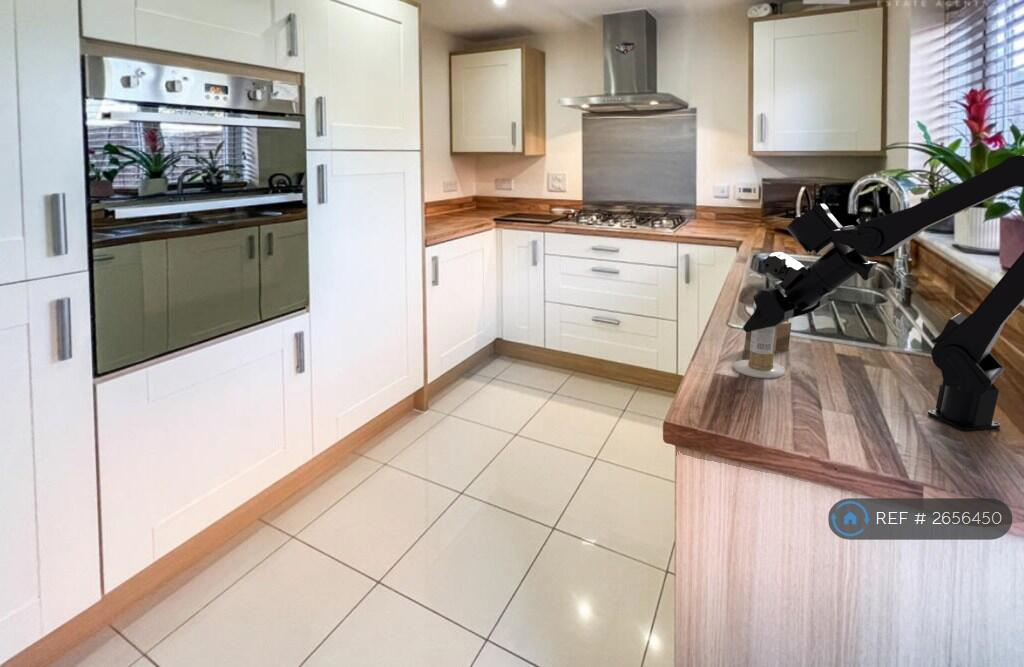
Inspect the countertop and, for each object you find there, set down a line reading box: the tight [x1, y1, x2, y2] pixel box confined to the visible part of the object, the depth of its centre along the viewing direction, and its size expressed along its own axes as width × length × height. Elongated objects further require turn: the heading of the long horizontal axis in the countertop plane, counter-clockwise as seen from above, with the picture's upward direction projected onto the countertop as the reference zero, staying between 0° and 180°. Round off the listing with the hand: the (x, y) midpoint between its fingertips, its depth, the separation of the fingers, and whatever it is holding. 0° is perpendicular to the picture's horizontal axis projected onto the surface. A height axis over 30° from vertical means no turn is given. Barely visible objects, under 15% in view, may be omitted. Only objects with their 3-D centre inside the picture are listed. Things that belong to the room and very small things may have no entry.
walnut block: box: [744, 320, 792, 353], centre depth 123 cm, size 4×8×6 cm, turn 112°
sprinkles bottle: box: [748, 301, 777, 370], centre depth 109 cm, size 5×5×13 cm
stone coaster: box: [733, 359, 786, 379], centre depth 111 cm, size 9×9×1 cm
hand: (756, 325), depth 110 cm, fingers open, 9 cm apart
